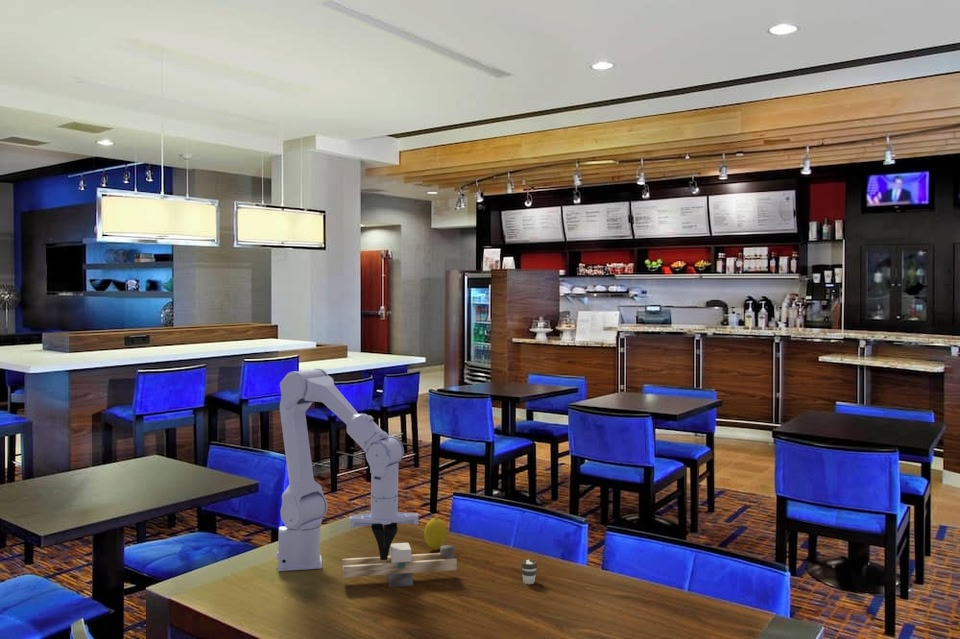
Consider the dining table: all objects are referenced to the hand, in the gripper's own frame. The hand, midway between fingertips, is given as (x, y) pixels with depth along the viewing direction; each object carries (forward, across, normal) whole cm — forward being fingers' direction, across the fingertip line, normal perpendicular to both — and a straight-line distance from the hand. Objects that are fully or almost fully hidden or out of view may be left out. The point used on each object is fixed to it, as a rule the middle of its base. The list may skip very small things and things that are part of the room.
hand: (383, 558), depth 159 cm
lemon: (+5, +14, +18) cm, 24 cm away
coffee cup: (+6, +31, -6) cm, 32 cm away
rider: (+1, +4, 0) cm, 4 cm away
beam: (+5, +4, 0) cm, 6 cm away
